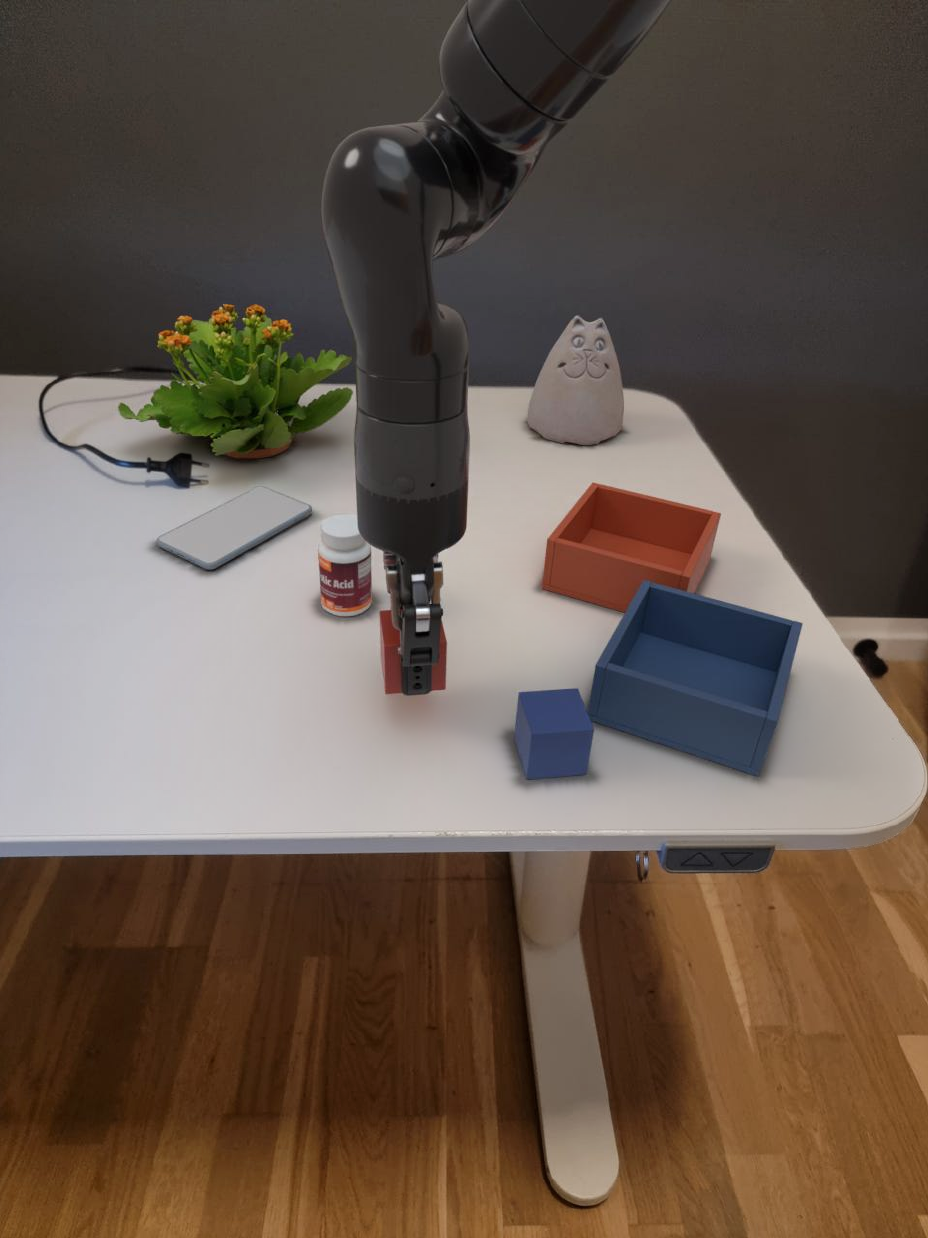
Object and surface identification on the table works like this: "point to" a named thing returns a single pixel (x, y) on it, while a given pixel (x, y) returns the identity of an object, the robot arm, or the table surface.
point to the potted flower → (241, 385)
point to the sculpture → (579, 387)
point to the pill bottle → (344, 567)
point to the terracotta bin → (627, 546)
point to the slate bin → (696, 675)
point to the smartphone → (233, 527)
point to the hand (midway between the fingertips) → (412, 669)
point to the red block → (392, 658)
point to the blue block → (553, 733)
